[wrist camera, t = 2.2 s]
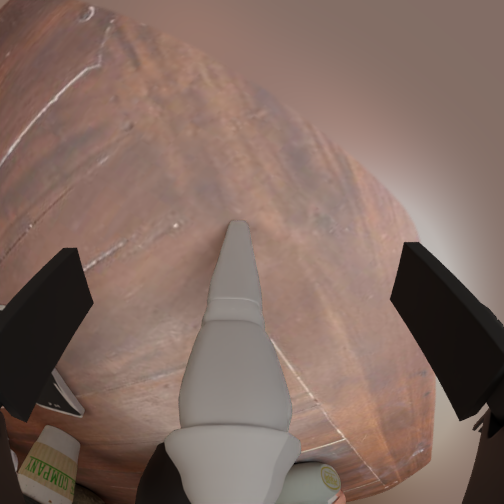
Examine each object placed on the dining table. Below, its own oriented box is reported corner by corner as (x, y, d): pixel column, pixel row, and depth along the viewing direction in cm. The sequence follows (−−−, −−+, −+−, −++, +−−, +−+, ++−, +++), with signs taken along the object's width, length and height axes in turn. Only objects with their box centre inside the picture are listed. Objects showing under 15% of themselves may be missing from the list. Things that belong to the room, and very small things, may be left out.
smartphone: (16, 312, 17) (85, 419, 24) (24, 303, 18) (88, 410, 25) (-26, 306, 17) (38, 405, 24) (-19, 299, 18) (42, 398, 25)
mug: (171, 470, 31) (165, 525, 23) (134, 434, 26) (119, 504, 18) (227, 472, 31) (225, 530, 23) (202, 438, 26) (196, 516, 17)
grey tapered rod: (213, 202, 15) (128, 534, 2) (266, 202, 15) (330, 541, 2) (215, 246, 16) (170, 546, 3) (265, 246, 16) (301, 549, 3)
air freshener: (341, 467, 32) (352, 522, 23) (292, 481, 34) (297, 534, 25) (310, 450, 28) (321, 522, 19) (253, 466, 30) (255, 531, 21)
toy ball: (322, 477, 34) (328, 518, 27) (351, 478, 36) (358, 515, 29) (288, 490, 37) (291, 527, 30) (318, 492, 39) (322, 525, 32)
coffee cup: (103, 454, 31) (85, 535, 17) (66, 449, 32) (46, 517, 19) (58, 419, 26) (27, 508, 13) (25, 415, 28) (-5, 488, 14)
